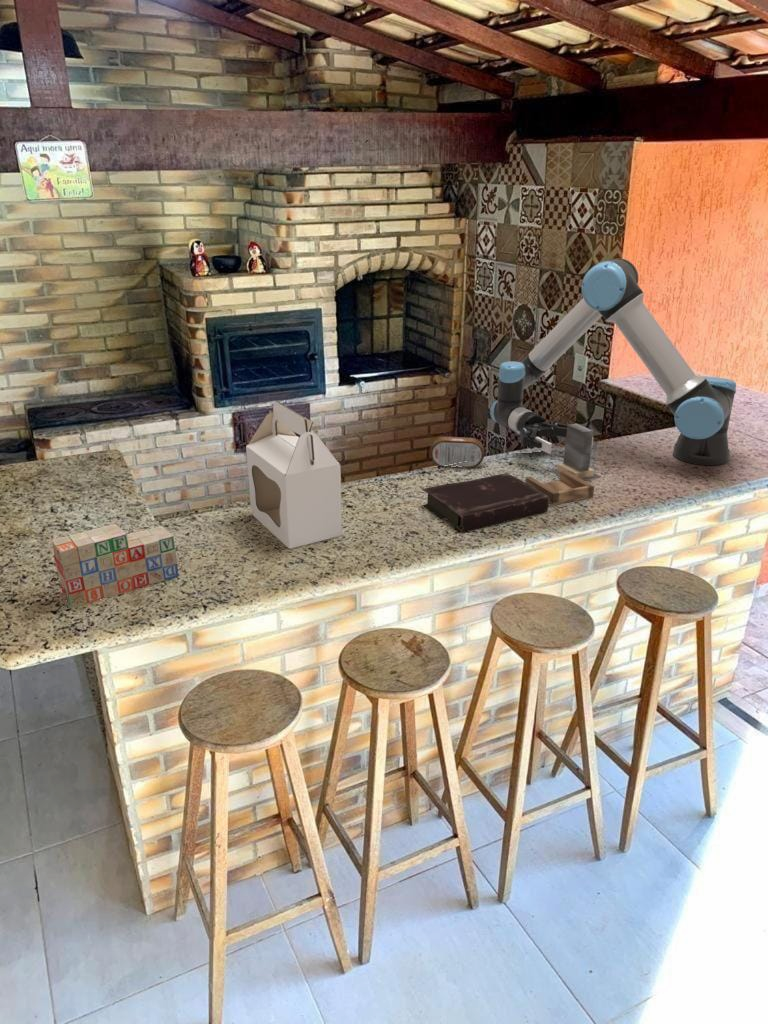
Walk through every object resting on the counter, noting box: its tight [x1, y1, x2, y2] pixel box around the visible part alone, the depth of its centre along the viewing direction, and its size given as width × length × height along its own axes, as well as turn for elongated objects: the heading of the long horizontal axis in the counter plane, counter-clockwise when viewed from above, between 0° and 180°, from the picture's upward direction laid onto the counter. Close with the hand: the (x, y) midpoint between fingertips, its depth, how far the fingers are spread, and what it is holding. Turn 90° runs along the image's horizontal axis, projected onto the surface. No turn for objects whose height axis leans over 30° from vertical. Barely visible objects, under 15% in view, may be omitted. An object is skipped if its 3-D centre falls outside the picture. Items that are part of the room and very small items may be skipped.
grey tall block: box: [556, 423, 595, 479], centre depth 203 cm, size 6×8×13 cm
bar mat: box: [548, 468, 602, 482], centre depth 206 cm, size 10×10×1 cm
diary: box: [421, 472, 550, 533], centre depth 185 cm, size 19×25×5 cm
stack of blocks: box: [51, 523, 179, 609], centre depth 149 cm, size 21×6×12 cm, turn 125°
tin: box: [429, 436, 485, 469], centre depth 210 cm, size 15×3×8 cm, turn 84°
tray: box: [525, 471, 595, 506], centre depth 193 cm, size 12×12×3 cm
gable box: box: [245, 400, 343, 550], centre depth 171 cm, size 22×13×28 cm, turn 31°
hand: (571, 445), depth 204 cm, fingers open, 13 cm apart
